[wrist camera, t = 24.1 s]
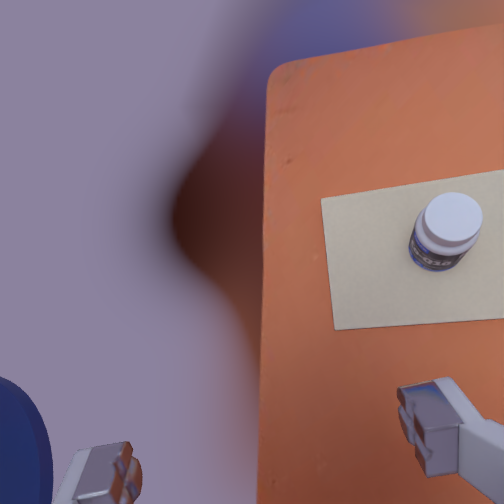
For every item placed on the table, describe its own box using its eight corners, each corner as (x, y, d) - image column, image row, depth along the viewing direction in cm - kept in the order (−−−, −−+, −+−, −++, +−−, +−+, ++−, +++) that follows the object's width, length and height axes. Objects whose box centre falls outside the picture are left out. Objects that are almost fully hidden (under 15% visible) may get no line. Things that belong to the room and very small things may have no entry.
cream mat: (334, 330, 37) (334, 330, 36) (320, 200, 41) (320, 198, 41) (578, 313, 31) (580, 312, 31) (532, 166, 36) (533, 164, 35)
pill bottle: (398, 257, 37) (406, 226, 29) (423, 217, 37) (438, 177, 29) (446, 282, 35) (468, 257, 27) (472, 240, 35) (501, 204, 27)
